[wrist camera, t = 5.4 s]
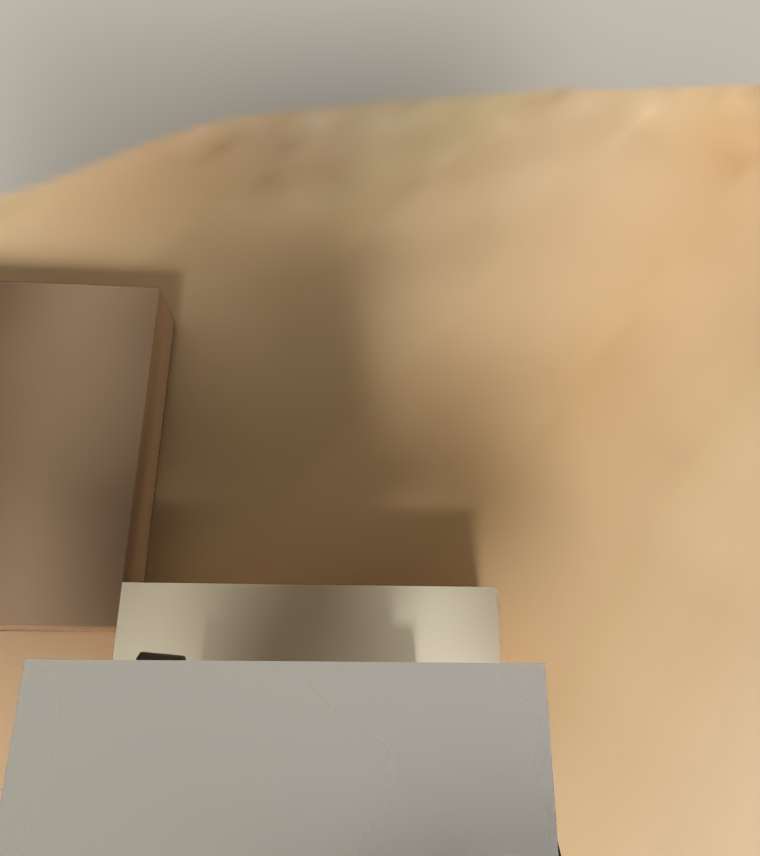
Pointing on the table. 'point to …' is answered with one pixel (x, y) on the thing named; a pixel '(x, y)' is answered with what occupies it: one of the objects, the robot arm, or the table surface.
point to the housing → (279, 759)
